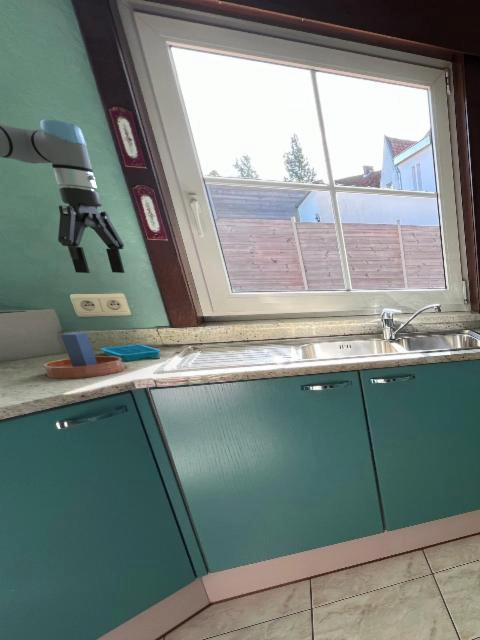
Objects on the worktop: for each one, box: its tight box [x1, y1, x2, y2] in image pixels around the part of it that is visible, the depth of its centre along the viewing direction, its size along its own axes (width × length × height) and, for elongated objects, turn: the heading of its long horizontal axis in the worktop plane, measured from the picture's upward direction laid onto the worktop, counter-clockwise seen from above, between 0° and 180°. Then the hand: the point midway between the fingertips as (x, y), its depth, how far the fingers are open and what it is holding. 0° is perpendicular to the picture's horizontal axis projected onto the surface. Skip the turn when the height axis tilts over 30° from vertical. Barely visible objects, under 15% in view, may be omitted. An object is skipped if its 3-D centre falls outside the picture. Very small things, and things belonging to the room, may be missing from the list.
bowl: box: [42, 355, 126, 380], centre depth 153 cm, size 17×17×4 cm
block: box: [60, 332, 97, 367], centre depth 152 cm, size 4×4×12 cm
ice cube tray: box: [99, 344, 162, 362], centre depth 177 cm, size 12×20×3 cm, turn 59°
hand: (101, 272), depth 138 cm, fingers open, 13 cm apart
